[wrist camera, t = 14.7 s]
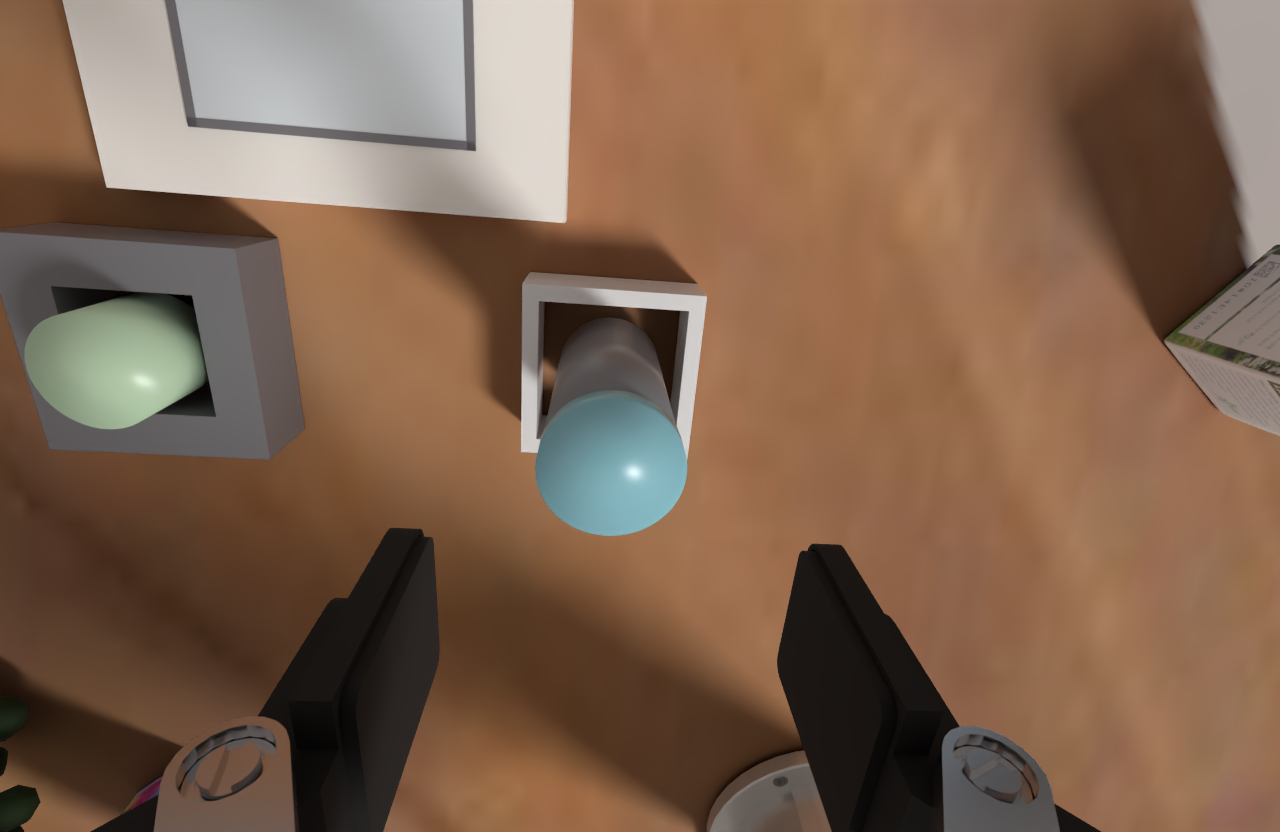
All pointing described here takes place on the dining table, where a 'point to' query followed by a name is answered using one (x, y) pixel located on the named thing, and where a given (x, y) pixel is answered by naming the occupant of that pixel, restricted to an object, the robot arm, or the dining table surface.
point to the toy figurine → (17, 803)
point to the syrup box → (1238, 346)
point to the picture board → (334, 101)
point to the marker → (610, 433)
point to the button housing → (226, 315)
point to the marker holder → (609, 294)
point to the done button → (117, 359)
